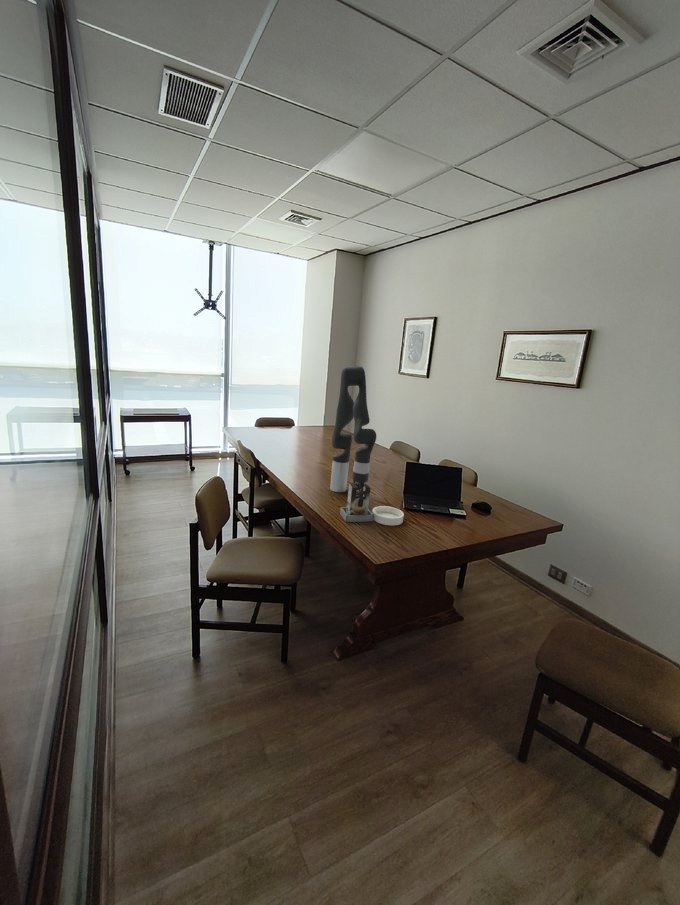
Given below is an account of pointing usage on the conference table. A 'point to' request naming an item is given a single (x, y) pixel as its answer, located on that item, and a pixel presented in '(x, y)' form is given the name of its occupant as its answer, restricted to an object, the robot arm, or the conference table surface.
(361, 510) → the coffee box
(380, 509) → the bowl
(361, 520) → the grey rectangular frame
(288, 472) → the conference table surface
